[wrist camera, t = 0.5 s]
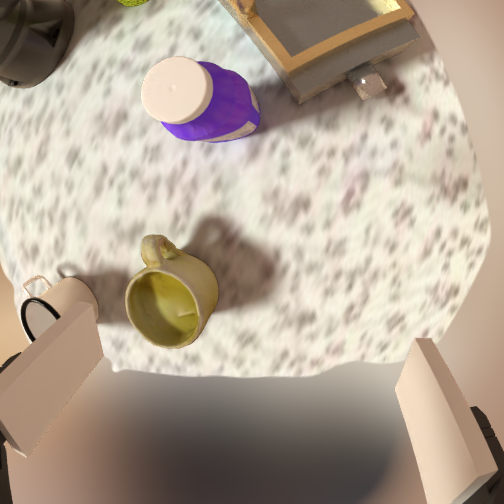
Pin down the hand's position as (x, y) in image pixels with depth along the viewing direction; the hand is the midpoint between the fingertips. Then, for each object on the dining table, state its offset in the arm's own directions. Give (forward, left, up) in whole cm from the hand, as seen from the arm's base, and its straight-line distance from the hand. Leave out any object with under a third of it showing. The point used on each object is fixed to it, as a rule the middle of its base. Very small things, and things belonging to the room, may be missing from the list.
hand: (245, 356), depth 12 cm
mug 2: (0, -13, -25) cm, 28 cm away
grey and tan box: (-17, +16, -25) cm, 34 cm away
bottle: (-12, +2, -25) cm, 28 cm away
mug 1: (-6, -32, -25) cm, 41 cm away
